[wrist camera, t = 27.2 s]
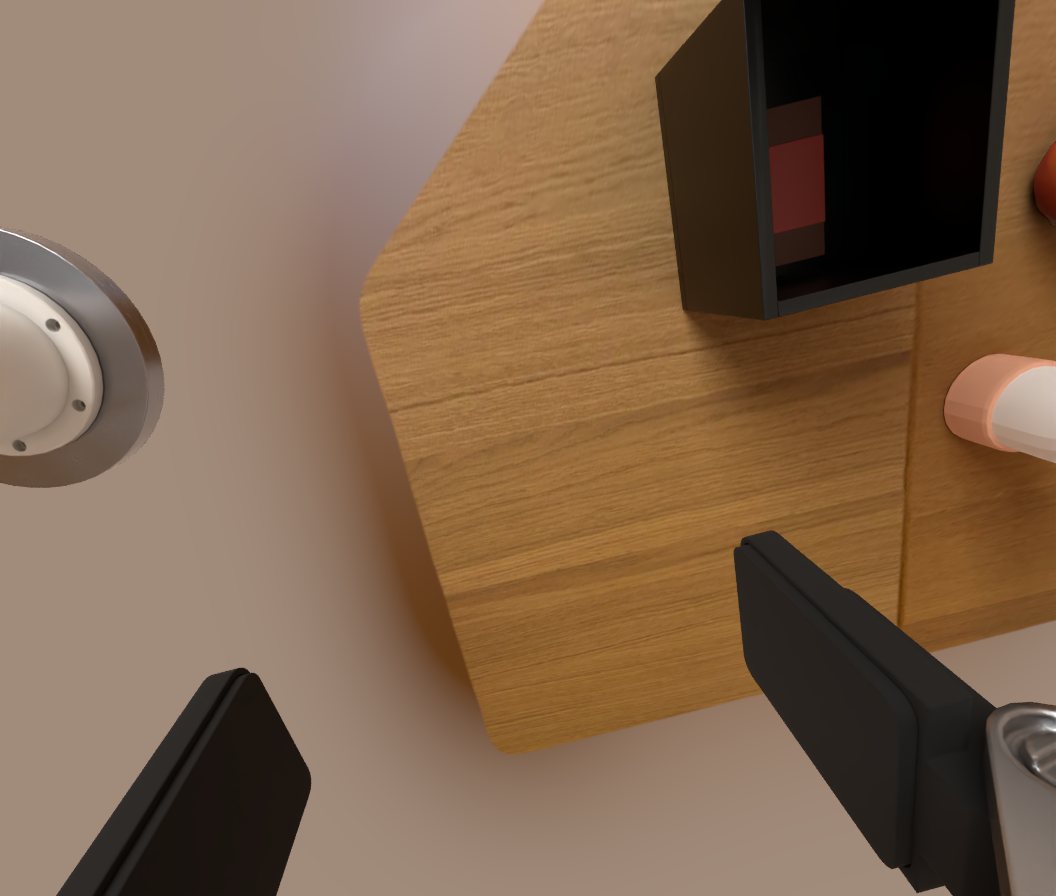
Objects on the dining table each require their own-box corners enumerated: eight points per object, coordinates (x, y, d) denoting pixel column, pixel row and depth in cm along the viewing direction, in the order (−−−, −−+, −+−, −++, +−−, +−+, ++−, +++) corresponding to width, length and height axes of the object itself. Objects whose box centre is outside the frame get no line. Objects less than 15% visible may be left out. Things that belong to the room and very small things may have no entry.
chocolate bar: (797, 257, 35) (826, 254, 32) (741, 271, 35) (765, 269, 32) (791, 111, 32) (823, 94, 29) (730, 126, 32) (756, 110, 29)
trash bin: (847, 268, 36) (993, 263, 26) (682, 310, 36) (764, 320, 26) (845, 30, 31) (1023, -91, 21) (654, 76, 31) (741, -24, 21)
